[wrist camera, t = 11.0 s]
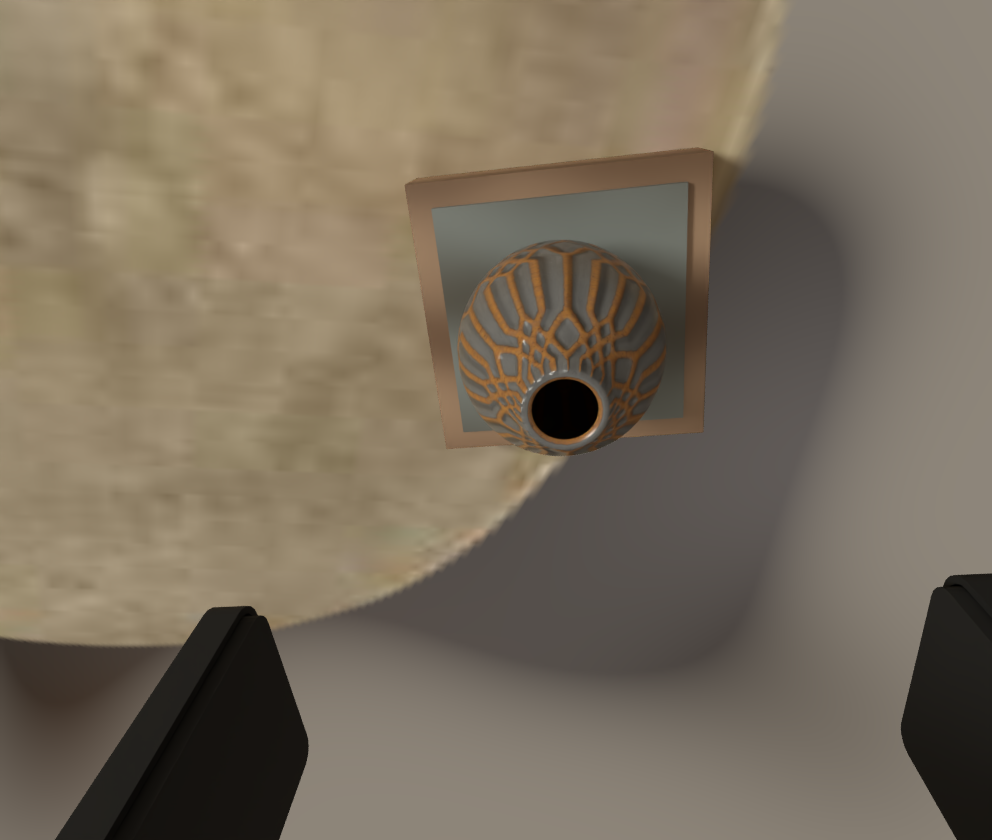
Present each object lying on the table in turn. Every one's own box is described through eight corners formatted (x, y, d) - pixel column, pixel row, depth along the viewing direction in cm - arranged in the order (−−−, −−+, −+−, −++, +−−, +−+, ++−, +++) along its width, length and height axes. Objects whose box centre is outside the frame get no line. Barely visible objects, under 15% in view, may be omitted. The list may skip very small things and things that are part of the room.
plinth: (416, 178, 26) (403, 185, 23) (697, 147, 25) (715, 151, 22) (453, 423, 30) (445, 452, 28) (691, 407, 29) (704, 435, 27)
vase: (520, 190, 23) (509, 231, 15) (683, 279, 24) (753, 362, 16) (440, 350, 26) (396, 456, 18) (588, 424, 27) (608, 555, 19)
